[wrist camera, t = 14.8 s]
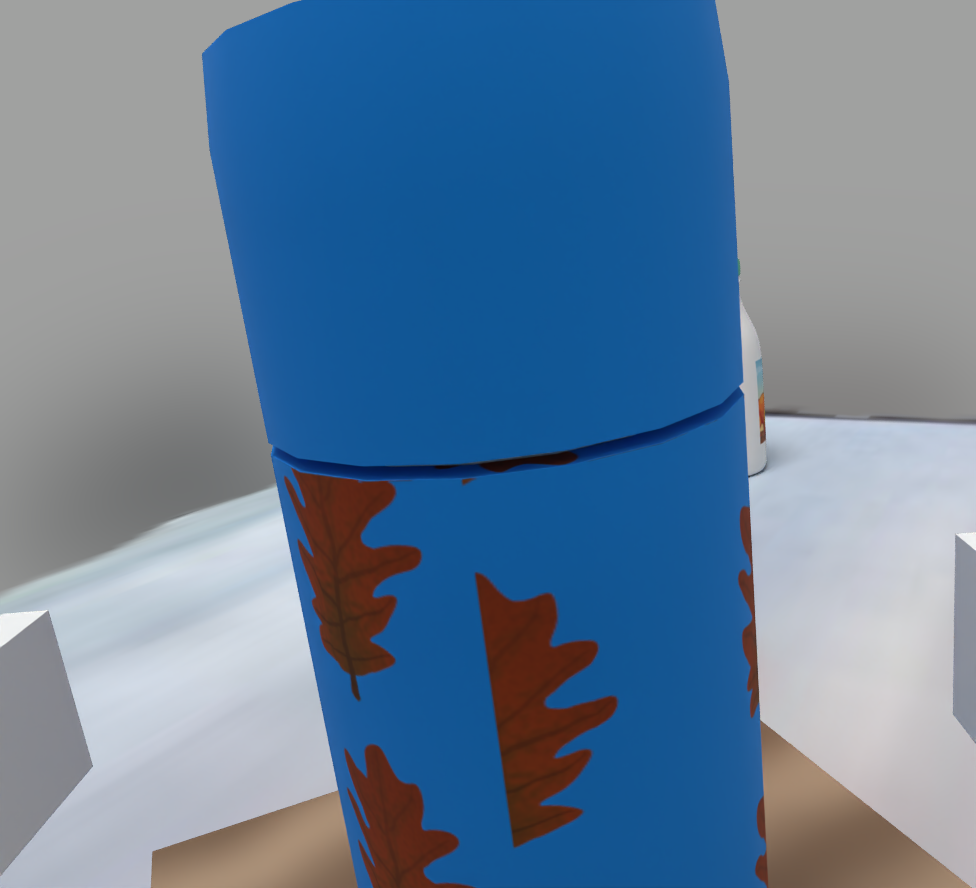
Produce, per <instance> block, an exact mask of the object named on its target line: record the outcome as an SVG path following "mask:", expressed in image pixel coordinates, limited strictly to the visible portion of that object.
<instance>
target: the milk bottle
mask: <svg viewBox="0 0 976 888" xmlns="http://www.w3.org/2000/svg"><path fill="white" fill-rule="evenodd" d="M739 275H740V262H739V259H738V278H739V282H740V281H741V280H740V276H739ZM739 299H740V319H741V340H742V360H743V380H744V382H743V383H742V384H741V385H740V386H739V387H740V389H741V390H742V392H743V393H744V401H745V421H746V441H747V462H748V476H749V475H753V474H756V473H758V472H760V471H761V470H763V469H764V467H765V464H766V431H765V409H764V389H763V371H762V359H761V349H760V343H759V339H758V336H757V333H756V330H755V328H754V326H753V324H752V322H751V320H750V318H749V317H748V315H747V313H746V311H745V309H744V306H743V304H742V301H741V298H740V295H739Z"/></svg>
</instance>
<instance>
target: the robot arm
mask: <svg viewBox="0 0 976 888" xmlns="http://www.w3.org/2000/svg"><path fill="white" fill-rule="evenodd" d="M953 715H954V716H955V717H956V719H957V720H958V721H959V722H960V724H961V725H962V726H963V728H964V729H965V730H966V732H967V733H968V734H969V735H970V737H971V738H972V739H973V741H974V742H975V743H976V532H972V533H960V534H955V603H954V674H953ZM92 767H93V765H92V761H91V758H90V754H89V751H88V747H87V744H86V740H85V737H84V733H83V730H82V726H81V723H80V719H79V716H78V712H77V709H76V705H75V702H74V698H73V695H72V691H71V688H70V684H69V681H68V677H67V674H66V670H65V667H64V663H63V660H62V656H61V653H60V649H59V646H58V642H57V639H56V635H55V632H54V628H53V625H52V621H51V618H50V614H49V611H48V610H44V611H32V612H20V613H8V614H1V615H0V876H1V875H2V873H3V872H4V871H5V870H6V869H7V868H8V866H9V865H10V864H11V863H12V862H13V860H14V859H15V858H16V857H17V856H18V854H19V853H20V852H21V851H22V850H23V849H24V847H25V846H26V845H27V844H28V843H29V841H30V840H31V839H32V838H33V837H34V835H35V834H36V833H37V832H38V831H39V830H40V828H41V827H42V826H43V825H44V824H45V822H46V821H47V820H48V819H49V818H50V817H51V815H52V814H53V813H54V812H55V811H56V809H57V808H58V807H59V806H60V805H61V803H62V802H63V801H64V800H65V799H66V798H67V796H68V795H69V794H70V793H71V792H72V790H73V789H74V788H75V787H76V786H77V784H78V783H79V782H80V781H81V780H82V779H83V777H84V776H85V775H86V774H87V773H88V771H89V770H90V769H91V768H92Z"/></svg>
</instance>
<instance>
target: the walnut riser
mask: <svg viewBox="0 0 976 888" xmlns="http://www.w3.org/2000/svg"><path fill="white" fill-rule="evenodd" d="M760 727H761V747H762V768H763V788H764V808H765V829H766V849H767V869H768V888H971V887H970V886H969V885H968V884H966V883H965V882H964V881H962V880H961V879H960V878H959V877H957V876H956V875H955V874H954V873H952V872H951V871H950V870H949V869H947V868H946V867H945V866H944V865H942V864H941V863H940V862H939V861H937V860H936V859H935V858H933V857H932V856H931V855H930V854H928V853H927V852H926V851H925V850H923V849H922V848H921V847H920V846H918V845H917V844H916V843H915V842H913V841H912V840H911V839H909V838H908V837H907V836H906V835H904V834H903V833H902V832H901V831H899V830H898V829H897V828H896V827H894V826H893V825H892V824H891V823H889V822H888V821H887V820H886V819H884V818H883V817H882V816H880V815H879V814H878V813H877V812H875V811H874V810H873V809H872V808H870V807H869V806H868V805H867V804H865V803H864V802H863V801H862V800H860V799H859V798H858V797H857V796H855V795H854V794H853V793H851V792H850V791H849V790H848V789H846V788H845V787H844V786H843V785H841V784H840V783H839V782H838V781H836V780H835V779H834V778H833V777H831V776H830V775H829V774H827V773H826V772H825V771H824V770H822V769H821V768H820V767H819V766H817V765H816V764H815V763H814V762H812V761H811V760H810V759H809V758H807V757H806V756H805V755H804V754H802V753H801V752H800V751H798V750H797V749H796V748H795V747H793V746H792V745H791V744H790V743H788V742H787V741H786V740H785V739H783V738H782V737H781V736H780V735H778V734H777V733H776V732H774V731H773V730H772V729H771V728H769V727H768V726H767V725H766V724H764V723H763V722H762V721H761V720H760ZM151 888H358V885H357V881H356V876H355V871H354V866H353V861H352V856H351V851H350V846H349V841H348V836H347V831H346V826H345V821H344V816H343V811H342V806H341V801H340V796H339V791H335V792H332V793H329V794H326V795H323V796H320V797H317V798H314V799H311V800H308V801H305V802H302V803H299V804H296V805H293V806H290V807H287V808H284V809H280V810H277V811H274V812H271V813H268V814H265V815H262V816H259V817H256V818H253V819H250V820H247V821H244V822H241V823H238V824H235V825H232V826H229V827H226V828H223V829H220V830H217V831H214V832H211V833H208V834H205V835H201V836H198V837H195V838H192V839H189V840H186V841H183V842H180V843H177V844H174V845H171V846H168V847H165V848H162V849H159V850H156V851H153V852H152V875H151Z"/></svg>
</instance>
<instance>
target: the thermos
mask: <svg viewBox="0 0 976 888" xmlns="http://www.w3.org/2000/svg"><path fill="white" fill-rule="evenodd" d="M202 60H203V72H204V85H205V97H206V110H207V123H208V135H209V147H210V154H211V159H212V164H213V169H214V174H215V179H216V184H217V189H218V194H219V199H220V204H221V209H222V214H223V219H224V224H225V229H226V234H227V239H228V243H229V249H230V254H231V259H232V264H233V269H234V274H235V279H236V283H237V288H238V294H239V298H240V303H241V309H242V314H243V319H244V323H245V328H246V334H247V338H248V343H249V348H250V353H251V358H252V363H253V368H254V373H255V378H256V383H257V388H258V393H259V398H260V403H261V408H262V413H263V418H264V423H265V428H266V433H267V438H268V443H270V444H272V445H273V448H272V453H271V458H272V463H273V468H274V473H275V477H276V483H277V488H278V493H279V498H280V503H281V508H282V513H283V518H284V522H285V527H286V532H287V537H288V542H289V547H290V552H291V557H292V562H293V567H294V572H295V577H296V582H297V587H298V592H299V597H300V602H301V607H302V612H303V617H304V622H305V627H306V632H307V637H308V642H309V647H310V652H311V657H312V662H313V667H314V672H315V677H316V682H317V687H318V692H319V697H320V701H321V706H322V711H323V716H324V721H325V726H326V731H327V736H328V741H329V746H330V751H331V756H332V761H333V766H334V771H335V776H336V781H337V786H338V791H339V796H340V801H341V806H342V811H343V816H344V821H345V826H346V831H347V836H348V841H349V846H350V851H351V856H352V861H353V866H354V871H355V876H356V881H357V885H358V888H768V869H767V849H766V829H765V808H764V788H763V768H762V747H761V727H760V706H759V686H758V666H757V645H756V625H755V605H754V584H753V564H752V543H751V523H750V503H749V482H748V462H747V441H746V421H745V401H744V393H743V392H742V390H741V389H740V387H739V386H740V385H741V384H742V383H743V382H744V380H743V360H742V340H741V319H740V299H739V278H738V258H737V238H736V219H735V218H736V217H735V198H734V177H733V156H732V137H731V117H730V95H729V80H728V74H727V69H726V63H725V56H724V50H723V45H722V39H721V33H720V28H719V21H718V15H717V10H716V4H715V0H301V1H297V2H293V3H290V4H288V5H285V6H283V7H280V8H278V9H275V10H273V11H271V12H268V13H266V14H263V15H261V16H259V17H256V18H254V19H251V20H249V21H247V22H244V23H242V24H239V25H237V26H235V27H232V28H230V29H227V30H226V31H225V32H224V33H223V34H222V35H221V36H219V38H217V39H216V40H215V42H214V43H212V45H211V46H210V47H208V48H207V49H206V50H205V52H203V53H202Z"/></svg>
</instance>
